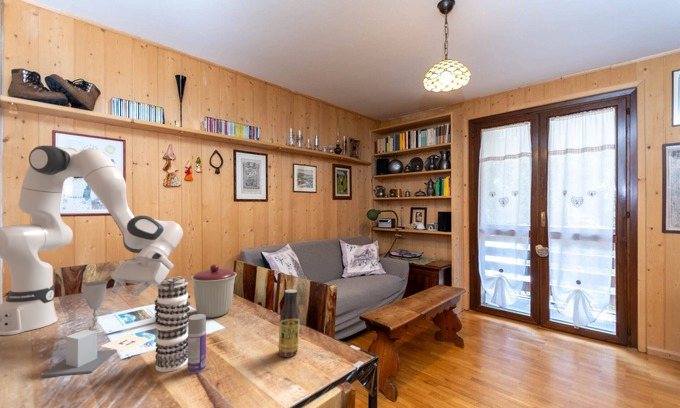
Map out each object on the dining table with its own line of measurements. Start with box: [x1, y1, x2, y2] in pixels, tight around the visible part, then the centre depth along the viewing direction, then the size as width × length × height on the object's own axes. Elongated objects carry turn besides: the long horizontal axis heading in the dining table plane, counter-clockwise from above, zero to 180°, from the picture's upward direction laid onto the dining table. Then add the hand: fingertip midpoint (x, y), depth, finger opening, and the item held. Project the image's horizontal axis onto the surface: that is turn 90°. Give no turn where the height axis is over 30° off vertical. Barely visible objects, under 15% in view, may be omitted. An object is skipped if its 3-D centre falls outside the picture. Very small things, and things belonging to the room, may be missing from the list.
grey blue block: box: [65, 329, 98, 367], centre depth 86 cm, size 5×5×8 cm
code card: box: [101, 334, 153, 353], centre depth 98 cm, size 12×9×1 cm
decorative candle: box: [154, 276, 191, 373], centre depth 86 cm, size 9×9×25 cm
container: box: [187, 313, 207, 375], centre depth 83 cm, size 5×5×15 cm
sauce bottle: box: [278, 288, 300, 358], centre depth 93 cm, size 7×6×20 cm
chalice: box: [82, 280, 109, 334], centre depth 107 cm, size 7×7×18 cm
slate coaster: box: [40, 349, 118, 379], centre depth 86 cm, size 12×12×1 cm
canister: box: [190, 264, 237, 319], centre depth 126 cm, size 18×18×21 cm
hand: (123, 294), depth 97 cm, fingers open, 8 cm apart
